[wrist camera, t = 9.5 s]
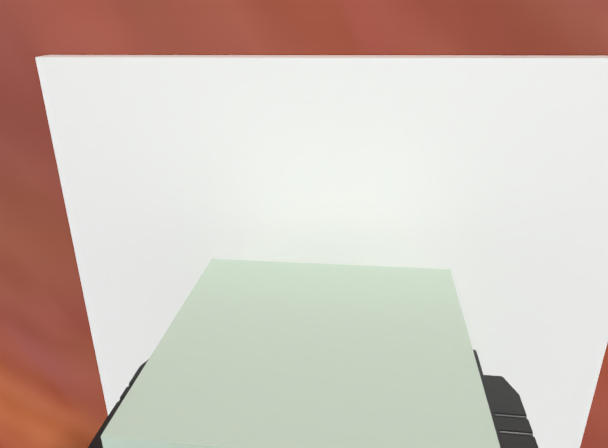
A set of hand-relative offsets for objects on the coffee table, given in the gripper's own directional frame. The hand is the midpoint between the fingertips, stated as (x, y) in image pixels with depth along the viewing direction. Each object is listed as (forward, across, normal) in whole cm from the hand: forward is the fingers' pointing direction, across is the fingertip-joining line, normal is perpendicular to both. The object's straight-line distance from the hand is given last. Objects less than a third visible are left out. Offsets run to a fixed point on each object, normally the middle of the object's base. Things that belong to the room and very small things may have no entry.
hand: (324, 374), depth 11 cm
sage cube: (0, 0, 0) cm, 0 cm away
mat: (+2, 0, 0) cm, 2 cm away
